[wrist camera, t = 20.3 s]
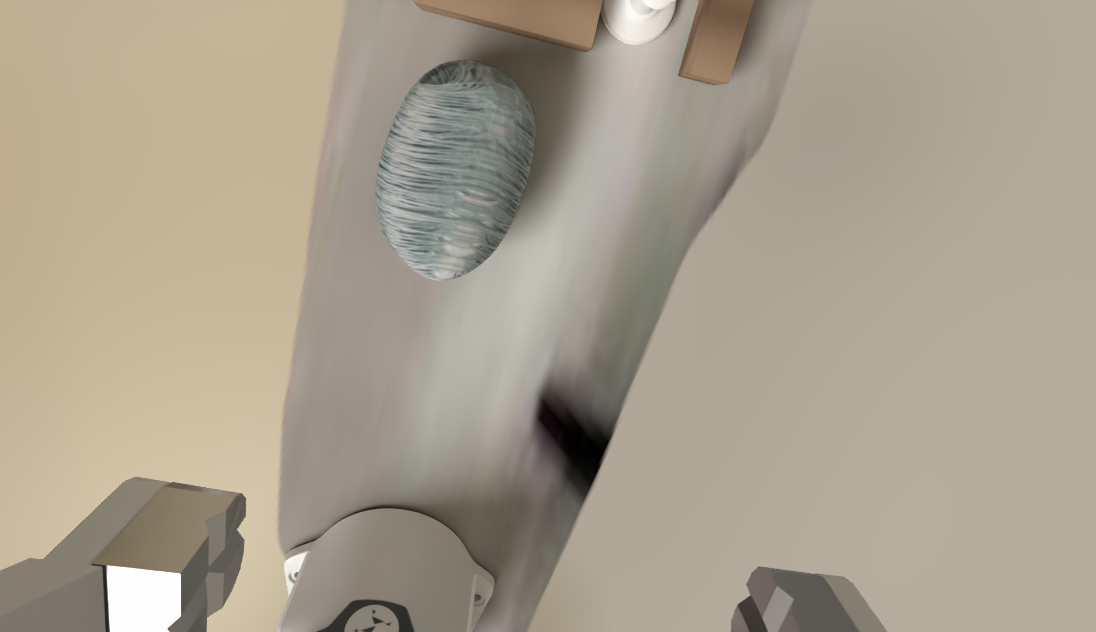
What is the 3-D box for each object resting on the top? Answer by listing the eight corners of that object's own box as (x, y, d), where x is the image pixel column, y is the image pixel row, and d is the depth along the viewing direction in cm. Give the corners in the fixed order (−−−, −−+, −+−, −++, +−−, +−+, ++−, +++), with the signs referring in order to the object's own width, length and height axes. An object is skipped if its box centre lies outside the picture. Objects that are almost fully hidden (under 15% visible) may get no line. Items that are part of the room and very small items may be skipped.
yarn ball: (403, 9, 33) (445, 77, 27) (536, 68, 39) (597, 137, 32) (339, 201, 40) (360, 292, 34) (460, 229, 46) (497, 311, 39)
